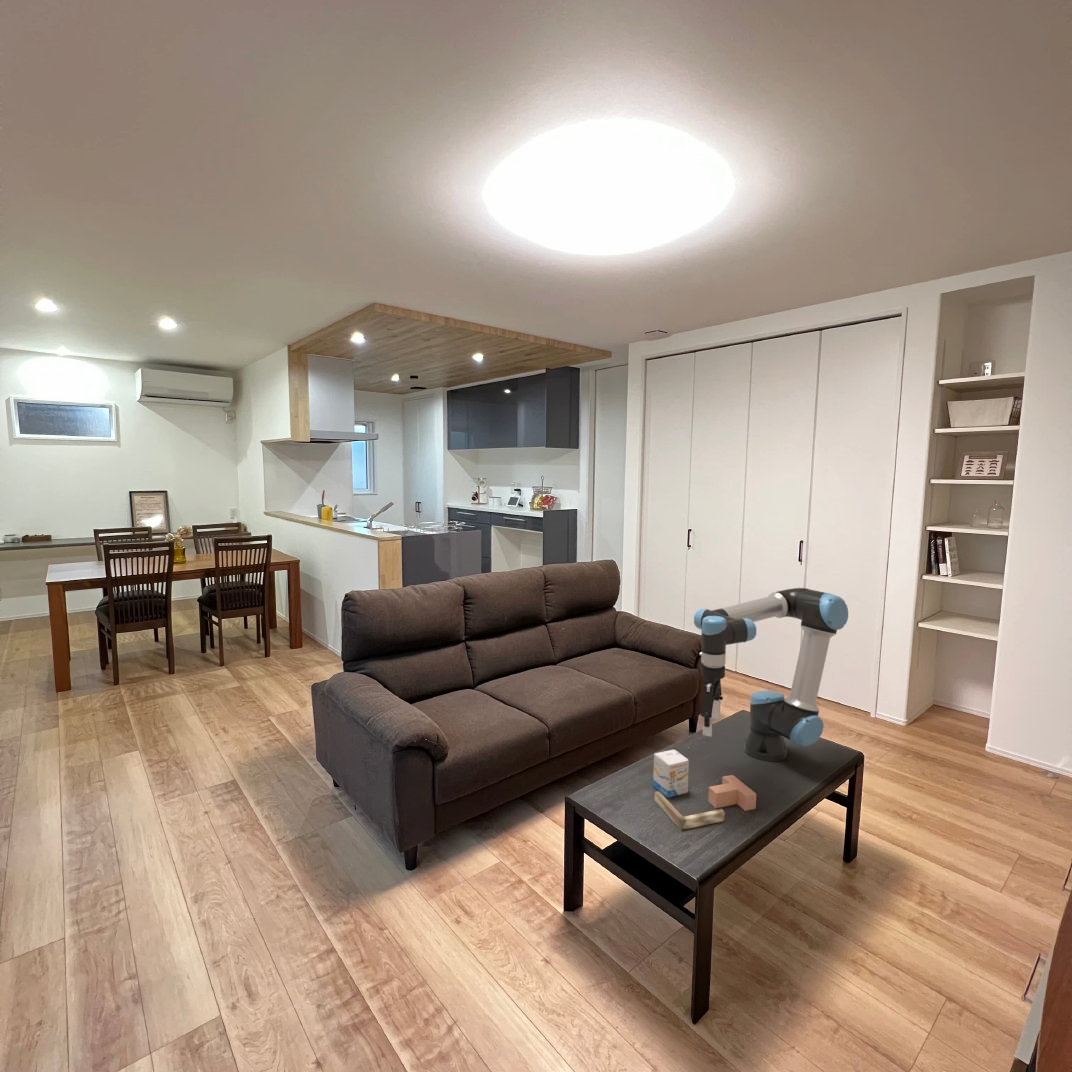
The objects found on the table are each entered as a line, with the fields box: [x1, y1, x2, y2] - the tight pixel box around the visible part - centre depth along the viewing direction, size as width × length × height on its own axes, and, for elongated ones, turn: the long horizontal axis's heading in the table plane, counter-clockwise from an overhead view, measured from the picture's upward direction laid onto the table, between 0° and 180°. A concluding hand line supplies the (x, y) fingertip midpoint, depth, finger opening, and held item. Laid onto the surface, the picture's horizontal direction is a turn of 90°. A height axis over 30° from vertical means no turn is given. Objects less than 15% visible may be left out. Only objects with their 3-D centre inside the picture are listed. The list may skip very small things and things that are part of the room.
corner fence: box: [654, 790, 726, 831], centre depth 180 cm, size 15×16×3 cm
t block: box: [707, 774, 757, 812], centre depth 184 cm, size 12×12×5 cm
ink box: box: [652, 749, 690, 799], centre depth 191 cm, size 9×8×12 cm
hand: (711, 726), depth 187 cm, fingers open, 13 cm apart
